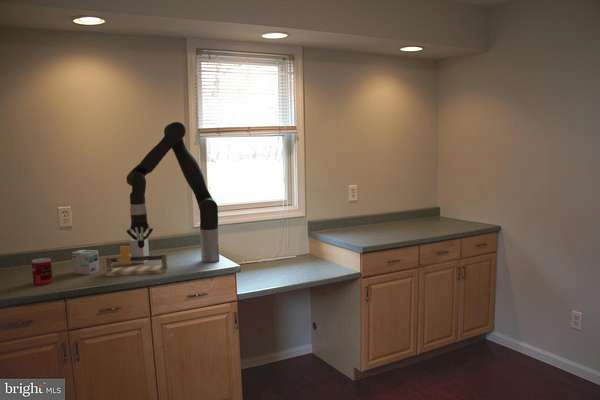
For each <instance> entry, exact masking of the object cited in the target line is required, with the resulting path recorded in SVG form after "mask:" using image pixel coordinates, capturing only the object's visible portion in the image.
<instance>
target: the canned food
mask: <svg viewBox="0 0 600 400" xmlns="http://www.w3.org/2000/svg"><path fill="white" fill-rule="evenodd" d="M52 268H53V267H52V259H51V258H50V257H40V258H36V259H35V258H34V259H32V260H31V270H32V281H33V282H32V283H33V284H34V285H35V286H45V285H46V284H47V285H50V284H52V283H53V280H54V279H53V269H52Z"/></svg>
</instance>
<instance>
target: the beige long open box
mask: <svg viewBox="0 0 600 400" xmlns="http://www.w3.org/2000/svg"><path fill="white" fill-rule="evenodd" d="M120 255H121V254H118V255H117V256H116V257H113V256H111V255H109V256H107V257H106V258H105V260H106V272H105V277H113V276H127V275H128V276H129V275H131V276H132V275H143V274H144V275H145V274H160V273H161V274H163V273H167V271H168V268H169V264H168V261H167V259H168V258H167V257H168V255H167V253H161V254H159V255H157V254H156V255H149V256H136V257H130V261H143V260H149V261H157V260H161V265H143V266H140V265H139V266H126V267H113V265H114V264H113V263H116V264H117V265H120V263H119V256H120Z"/></svg>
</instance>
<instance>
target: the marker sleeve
mask: <svg viewBox="0 0 600 400" xmlns="http://www.w3.org/2000/svg"><path fill="white" fill-rule="evenodd" d="M119 249H120V250H119V251H120V254H119V255H120V256H119V263H120V264H119V265H120V266H122V265H124V266H125V265H131V264H133V263H132V261H130V257H132V255H131V254H130V245H121V246H120V247H119Z"/></svg>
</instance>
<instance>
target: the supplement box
mask: <svg viewBox="0 0 600 400" xmlns="http://www.w3.org/2000/svg"><path fill="white" fill-rule="evenodd" d="M140 238H141V236H140ZM148 239H149V238H147V239H145V240H144V247H143V248H140V247H138V241H137V240H134V239H133V238H132V239H130V240H128V241H129V251H130V254H131V255H132V257H136V256H150V252H149V250H150V249H149V240H148ZM149 261H150V260H143V261H132V263H131V264H145V263H147V262H149Z"/></svg>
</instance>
